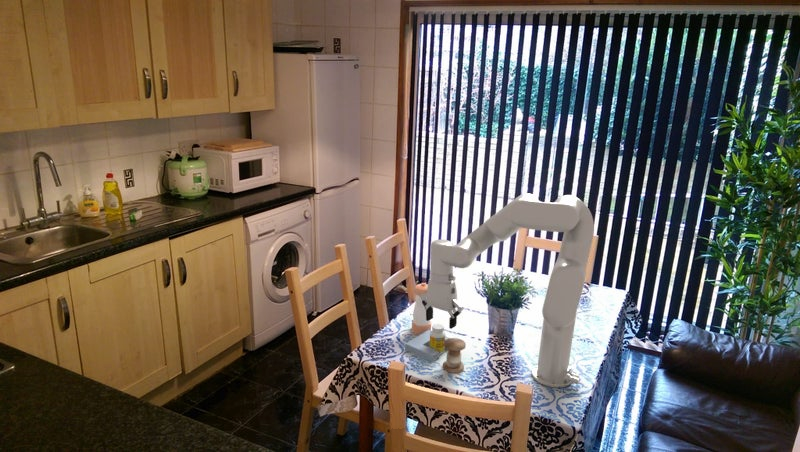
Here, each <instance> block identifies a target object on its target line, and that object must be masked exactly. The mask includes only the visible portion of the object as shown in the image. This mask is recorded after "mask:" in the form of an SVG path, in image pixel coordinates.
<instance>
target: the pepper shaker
mask: <svg viewBox="0 0 800 452" xmlns="http://www.w3.org/2000/svg"><path fill="white" fill-rule="evenodd" d="M427 287H428V283H425V282H422V283H417V284H416V285H415V286H414V287H413V292H414V294H415V302H414V303H415V304H414V307H413V311H412V312H413V314H412V322H411V332H412V333H413V334H415V335H418V336H419V335H421V334H422V333H424V332H426V331H428V330H431V331H432V321H431V320H429V321H427V320H426V310H425V308H424V305H423V304H422V300H421V298H420V295H422V294H424V293H427ZM426 300H427V297H426Z"/></svg>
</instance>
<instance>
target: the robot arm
mask: <svg viewBox="0 0 800 452" xmlns="http://www.w3.org/2000/svg"><path fill="white" fill-rule="evenodd" d="M594 224H595V223H594V218H593V215H592V212H591V211H590V209H589V208H588V206H587V204H586V203H585V202H584V201H582V199H580V198H578V197H577V196H574V195H572V194H565V195H561V196H559V197H558V198H557V199H556V200H555V201H554V202H550V201H549V202H545V201H541V200H539V198H538V197H537V196H535V194H532V193H522V194H520V195H519V196H517V197H515V198H514V199H512V200H511V202H508V203H507V204H506V205H505V206H503V207H502V208H501V209H500V210H498V211H497V212H496V213H494V214H493V215H492V216H490V217H489V218H488V219H486V221H485V222H483V224H481V225H480V226H479V227H477V228H476V229H474V230H473V231H472V232H470V233H469V234H468V235H466V237H464V238H463V239H461V240H460V242H458V243H457V244H455V245H454V244H453V242H452V241H450V240H447V239H437V240H434V241H432V242H431V243H430V259H429V260H430V263H429V264H430V266H429V267H430V269H429V270H430V276H429V277H430V278H429V279H428V282H427V284H428V287H427V293H424V294H422V295H420V298H421V300H422V304H423V305H424V308H425V310H426V320H427V321H429V320H430V321H431V320H432V319H433V318H434V309H436V310H437V309H438V310H440V311H443V312H446V313H448V314H449V316H450V317H449V318H448V319H449V322H448V324H449V327H448V328H449V329H450V330H451V329H453V328H455V327H456V326H457V319H458V318H457V317H458V316H459V315H460V314H461V313H463V312H462V311H464V309H465V307H464V306H463V305H462V304H461V303H460V302H459V301H458V292H457V285H456V281H455V280H456V276H454V267H455V268H459V269H466V268H469V267H470V266H471V265H472V264H473V262H474V261H475V260H476V259H477V257H478V256H480V255H481V254H482V253H483V252H485V251H486V250H487V249H490V247H491V246H493V245H494V244H496V243H498V242H504V241H507V240H508V239H509V238H511V237H512V236H513V235H515V234H516V233H517V232H519V231H520V230H521V229H527V230H535V231H545V232H556V233H563V234H562V235H563V236H562V240H561V245H560V248H559V253H558V256H557V258H556V261H555V263H554V266H553V267H552V270H551V274H550V278H549V281H548V285H547V289H546V293H545V296H544V300H543V301H544V302H543V306H542V310H541V312H542V317H543V321H542V327H541V335H540V343H539V351H538V360H537V361H538V362H537V365H534V366H533V368H532V369H531V376H532V378H533V380H534V381H536V382H537V383H539V384H540V385H543V386H545V387H550V388H557V389H559V387H560V388H565V387H568V386H569V385H571V383H572V384H575V385H578V386H579V384H580V382H581V381H580V380H581V379H580V378H579V377H580V375H579V374H578V373H574V372H573V371H572V366H570V359H571V351H572V344H573V339H574V338H573V337H574V333H575V331H574V330H575V325H576V318H577V311H578V308H579V304H580V301H581V297H582V294H583V289H584V286H585V281H586V276H587V275H586V274H587V265H588V260H589V257H590V253H591V248H592V243H593V240H594V234H595V233H594V232H595V225H594ZM426 297H427V300H426Z"/></svg>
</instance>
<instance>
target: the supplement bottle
mask: <svg viewBox="0 0 800 452" xmlns="http://www.w3.org/2000/svg"><path fill="white" fill-rule="evenodd" d="M445 336H446V332H445V327H444V325H443V324H440V323H434V324H433V325H431V332H430V346H429V348H431V349H434V350H436V351H438V352H439V355H441V354H443V353H444V352H445V350H446V349H445V346H444V341H445Z"/></svg>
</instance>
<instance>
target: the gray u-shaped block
mask: <svg viewBox="0 0 800 452" xmlns="http://www.w3.org/2000/svg"><path fill="white" fill-rule="evenodd" d="M431 331H432V329H431V330H428V331H426V332H424V333H422V334H421V335H418V336H415V337H414V338H412V339H410V340H409V341H407V342H405V344H404V350H405V351H406V352H408V353H411V354H412V355H415V356H417V357H420V358H422V359H424V360H426V361H428V362H430V363H434V362H435V361H437V360H438V359H439V356H440V354H439V352H438V351H436V350H434V349H431V348H429V346H430V332H431ZM449 338H450V337H448V336H447V335H445V340H446V339H449ZM444 350H447V351H448V349H447V348H446V347H445V349H444Z"/></svg>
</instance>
